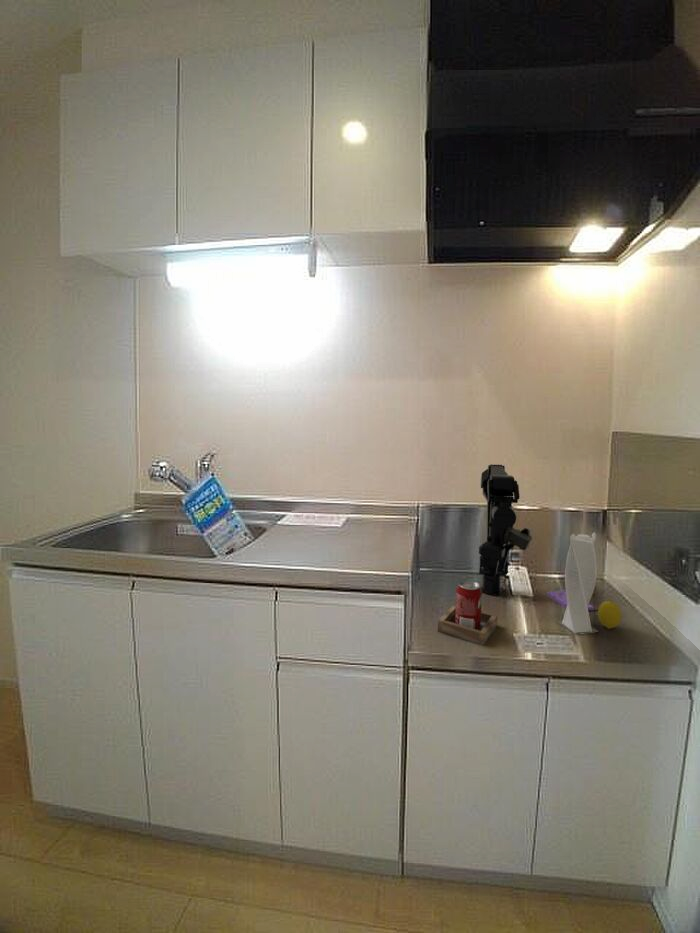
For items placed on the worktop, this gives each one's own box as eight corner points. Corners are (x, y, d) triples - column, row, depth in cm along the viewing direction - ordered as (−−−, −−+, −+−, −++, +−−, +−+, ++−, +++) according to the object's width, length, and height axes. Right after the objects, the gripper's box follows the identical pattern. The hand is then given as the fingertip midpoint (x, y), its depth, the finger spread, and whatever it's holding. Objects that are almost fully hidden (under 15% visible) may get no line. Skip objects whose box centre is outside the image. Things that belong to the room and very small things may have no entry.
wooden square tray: (454, 613, 126) (454, 604, 125) (496, 625, 119) (497, 615, 118) (437, 631, 116) (437, 620, 115) (483, 645, 109) (483, 634, 108)
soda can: (475, 635, 113) (476, 591, 111) (451, 627, 117) (452, 585, 115) (484, 625, 118) (485, 583, 117) (460, 618, 122) (462, 577, 121)
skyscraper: (601, 635, 114) (610, 533, 110) (574, 637, 112) (582, 534, 109) (580, 620, 122) (587, 525, 119) (554, 622, 121) (560, 526, 117)
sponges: (565, 595, 140) (565, 589, 140) (594, 612, 128) (594, 606, 128) (546, 596, 139) (546, 591, 139) (573, 614, 127) (574, 608, 127)
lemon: (617, 625, 119) (619, 598, 118) (622, 635, 114) (625, 606, 113) (594, 622, 121) (596, 595, 120) (599, 631, 116) (601, 603, 115)
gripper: (522, 531, 110) (519, 588, 112) (537, 516, 125) (534, 567, 127) (479, 524, 116) (477, 579, 118) (498, 511, 132) (496, 560, 133)
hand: (497, 571), depth 124 cm, fingers open, 9 cm apart
